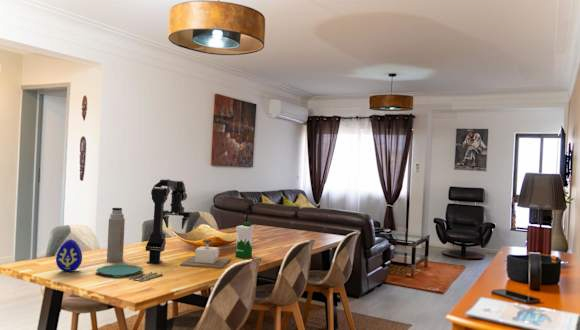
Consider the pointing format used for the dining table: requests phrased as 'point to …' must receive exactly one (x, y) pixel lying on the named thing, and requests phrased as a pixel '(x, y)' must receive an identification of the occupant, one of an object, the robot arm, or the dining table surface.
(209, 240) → the plunger
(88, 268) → the dining table surface
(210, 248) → the white block with hole
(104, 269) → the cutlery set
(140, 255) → the dining table surface
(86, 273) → the dining table surface
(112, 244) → the thermos bottle
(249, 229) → the milk carton
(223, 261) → the board
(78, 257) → the ornament
